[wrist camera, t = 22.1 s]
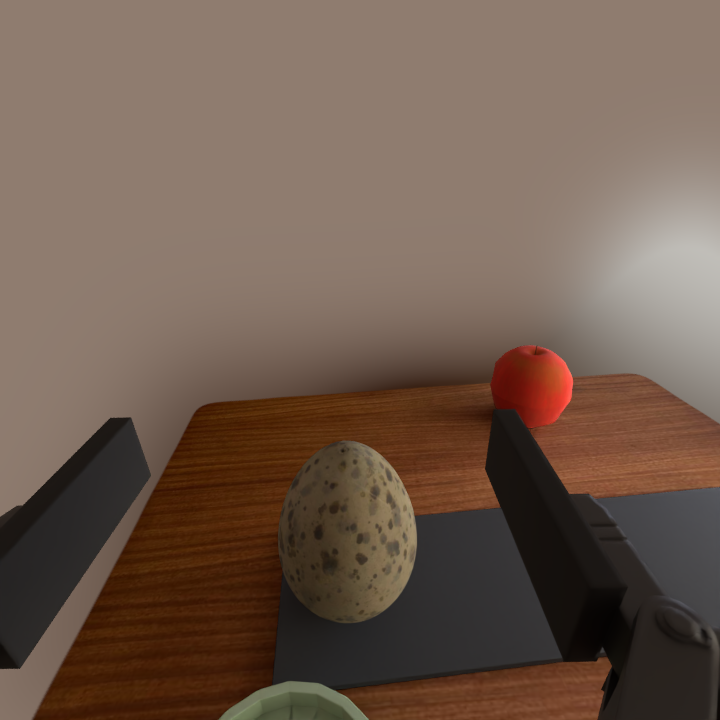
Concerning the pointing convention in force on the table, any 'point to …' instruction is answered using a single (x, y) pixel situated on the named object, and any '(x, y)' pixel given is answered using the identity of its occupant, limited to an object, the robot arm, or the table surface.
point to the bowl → (295, 704)
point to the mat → (490, 597)
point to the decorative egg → (347, 534)
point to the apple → (532, 384)
